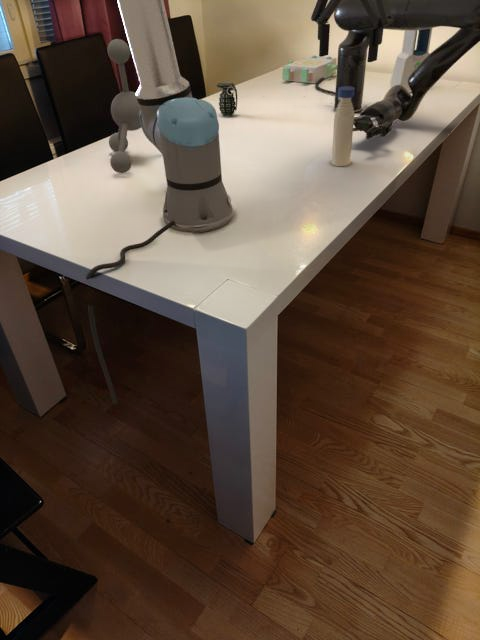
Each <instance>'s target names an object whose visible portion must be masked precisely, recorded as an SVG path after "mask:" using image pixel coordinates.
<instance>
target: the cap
mask: <svg viewBox="0 0 480 640" xmlns="http://www.w3.org/2000/svg"><path fill="white" fill-rule="evenodd" d="M354 92H355V88H354V87H350V86H344V87H339V88H338V97H341V98H351V97H354Z"/></svg>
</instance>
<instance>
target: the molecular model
mask: <svg viewBox="0 0 480 640" xmlns="http://www.w3.org/2000/svg"><path fill="white" fill-rule="evenodd" d="M107 55H108V57H109V59H110V60H111V61H112V62H113V63H115V64H117V67H118V71H119V76H120V77H119V78H120V82H121V88H122V91H121V92H119V93H118V94H116V95H115V96H114V98H113V99H112V101H111V105H110V115H111V117H112V120H113V121H114V122H115V124H116V125H117V126H118V132H114V133H112V134H110V136H109V139H108V146H109V148H110V150H112V151H113V152H114V153H112V155H111V157H110V159H109V162H110V167H111V168H112V170H113V171H115V172H116V173H118V174H126V173H127V172H129V170H131V168H132V163H133V162H132V158H131V156H130V155H129V154H128V153H127V152H125V151H126V150H127V149H128V146H129V141H128V138H127V136H128V131H129V132H131V131H132V132H134V131H137V130H140V129H142V127H141V124H140V108H139V105H138V101H137V98H136V92H135V91H131V90H129V84H128V78H127V73H126V67H125V64H126V63H127V62H128V60H129V59H130V56H131V49H130V46H129V44H128V43H126V42H125V41H124V40H123V39H120V38H115V39H112V40H111V41H110V42H109V43H108V45H107Z"/></svg>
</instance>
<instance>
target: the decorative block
mask: <svg viewBox="0 0 480 640" xmlns="http://www.w3.org/2000/svg"><path fill="white" fill-rule="evenodd" d="M337 60H338V57H332V56H322V57H319V56H317V55H312V56H310V57H308V58H302V59H299V60H296V61H293V60H289V61H287V64H285V66H283V67H282V81H287V82H288V81H289V82H297V83H306V84H307V83H308V84H316V83H317V82H318V81H319V80H320V79H321V78H323V77H324V79H323V80H325V79H328V78H330V77H332V76H333V75H334V74H337Z"/></svg>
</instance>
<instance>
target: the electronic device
mask: <svg viewBox="0 0 480 640" xmlns="http://www.w3.org/2000/svg"><path fill="white" fill-rule="evenodd" d="M432 34H433V28H430V29H425V30H415V31H413V30H404V34H403V40H402V41H403V42H402V48H401V51H400V53H399V54H398V55H397V56H396V59H395V64H394V67H393V70H392V74H391V78H390V80H389V81H390V89H391V88H392V87H393V86H395V85H401V86H403V87H404V88H405V89H406V90H407V91H408V92H409V93H410V94H411V93H412V91H411V89H410V87H409V85H408V78H409V76H410V75H411V73H412V72H413V71H414V70H415V69H416V68H417V67H418V66H419V64H420V63H421V62H422V61H423V60H424V59H425V58H426V57H427V56H428V55H429V54H430V45H431V40H432V39H431V38H432Z"/></svg>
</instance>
